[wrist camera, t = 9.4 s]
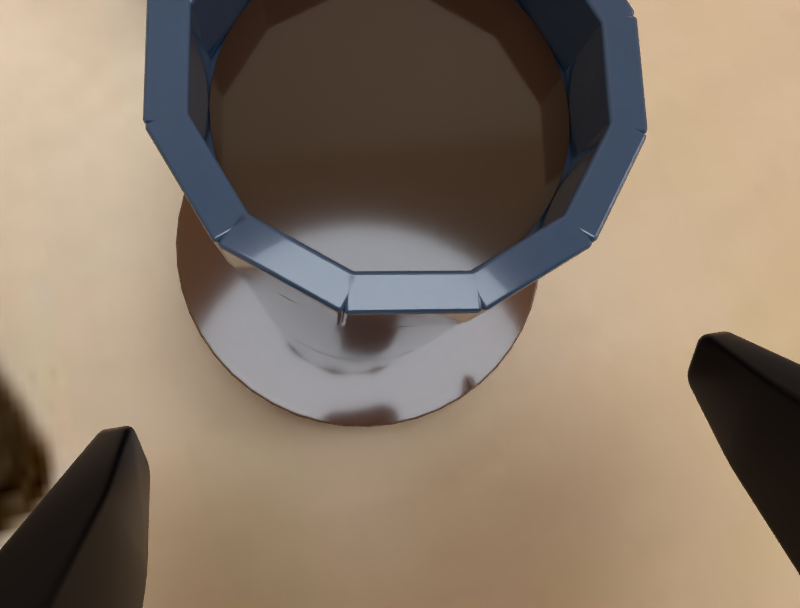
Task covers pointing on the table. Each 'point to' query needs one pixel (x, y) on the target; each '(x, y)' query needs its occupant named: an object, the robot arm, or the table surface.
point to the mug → (384, 182)
